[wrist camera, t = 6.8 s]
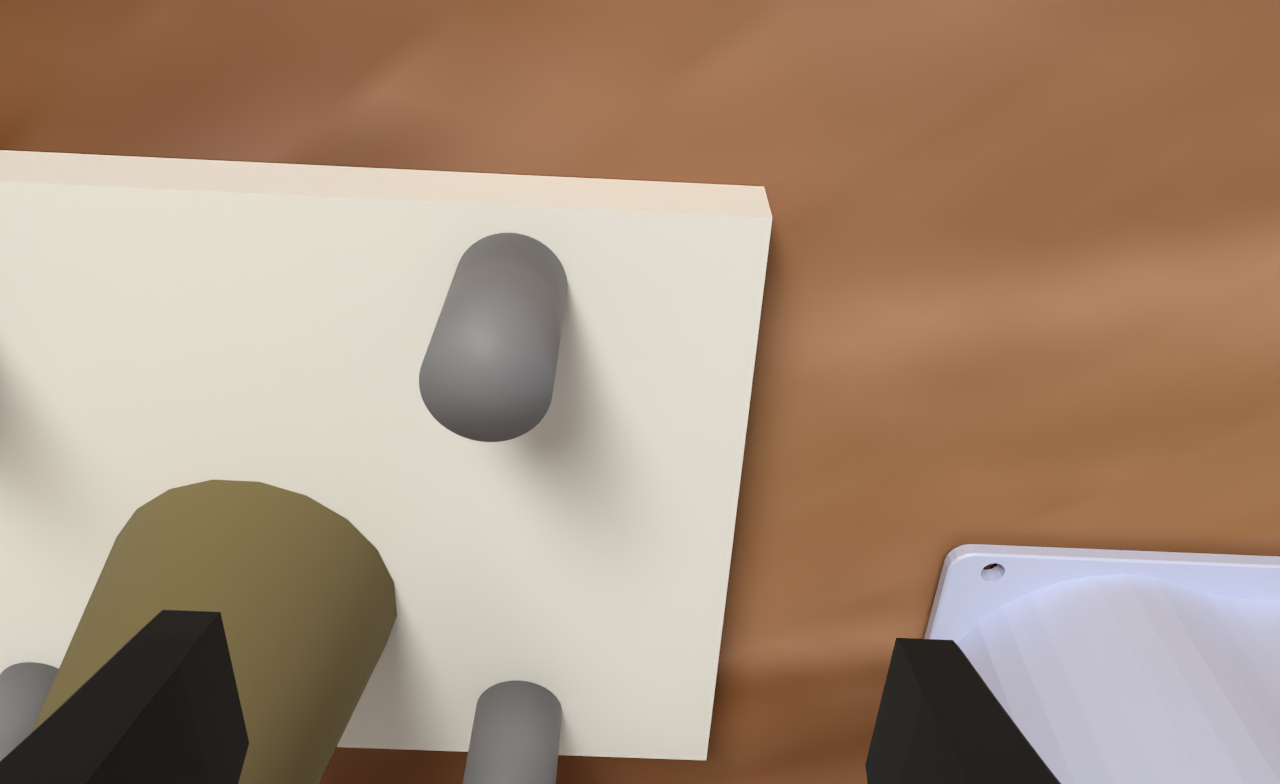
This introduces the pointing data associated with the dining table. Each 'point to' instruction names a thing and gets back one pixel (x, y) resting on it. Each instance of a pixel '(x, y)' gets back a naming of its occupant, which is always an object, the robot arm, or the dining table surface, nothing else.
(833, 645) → the dining table surface
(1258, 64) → the dining table surface
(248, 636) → the olive rounded cylinder
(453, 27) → the dining table surface
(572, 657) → the peg board
